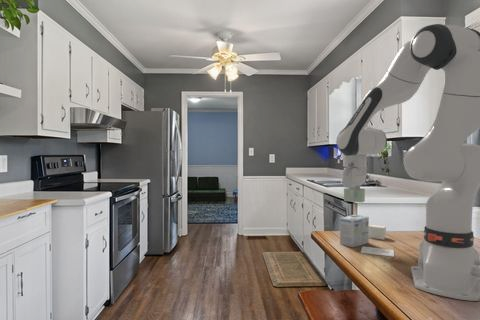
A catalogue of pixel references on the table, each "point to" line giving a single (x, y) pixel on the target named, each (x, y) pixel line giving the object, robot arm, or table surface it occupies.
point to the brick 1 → (358, 195)
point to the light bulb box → (354, 230)
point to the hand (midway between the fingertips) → (354, 197)
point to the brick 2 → (377, 231)
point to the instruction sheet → (377, 251)
